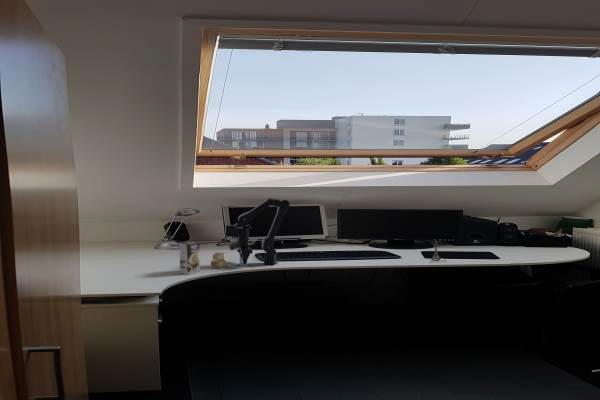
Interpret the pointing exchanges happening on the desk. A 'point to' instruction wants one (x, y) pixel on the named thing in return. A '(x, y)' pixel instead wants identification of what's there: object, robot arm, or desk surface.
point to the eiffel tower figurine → (436, 256)
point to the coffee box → (189, 257)
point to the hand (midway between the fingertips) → (243, 263)
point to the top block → (218, 257)
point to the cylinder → (242, 262)
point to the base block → (218, 264)
